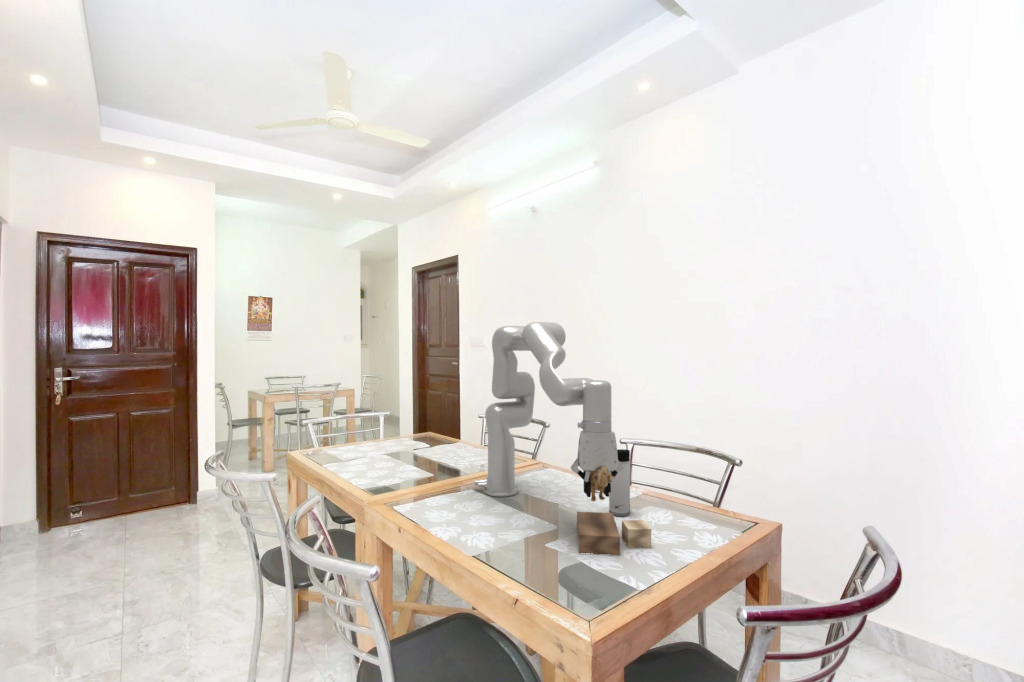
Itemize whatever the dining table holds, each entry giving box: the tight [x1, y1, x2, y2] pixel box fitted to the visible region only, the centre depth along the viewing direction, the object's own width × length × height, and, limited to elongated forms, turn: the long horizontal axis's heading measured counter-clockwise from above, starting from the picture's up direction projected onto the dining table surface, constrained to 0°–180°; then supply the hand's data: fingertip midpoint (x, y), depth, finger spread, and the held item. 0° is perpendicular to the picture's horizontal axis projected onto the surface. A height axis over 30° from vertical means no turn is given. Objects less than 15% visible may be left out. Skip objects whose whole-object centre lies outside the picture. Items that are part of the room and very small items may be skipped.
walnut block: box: [576, 511, 621, 556], centre depth 122 cm, size 10×16×5 cm, turn 174°
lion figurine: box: [589, 467, 614, 502], centre depth 123 cm, size 15×5×9 cm, turn 15°
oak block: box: [621, 519, 652, 549], centre depth 120 cm, size 6×6×5 cm
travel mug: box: [608, 448, 631, 518], centre depth 141 cm, size 6×7×20 cm
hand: (597, 494), depth 122 cm, fingers closed on lion figurine, 4 cm apart
